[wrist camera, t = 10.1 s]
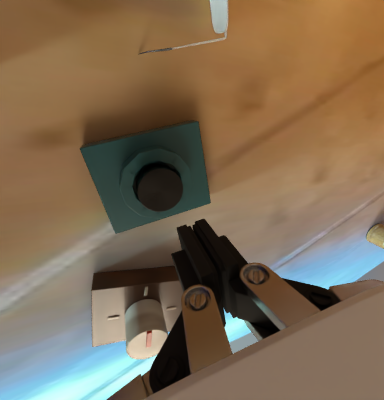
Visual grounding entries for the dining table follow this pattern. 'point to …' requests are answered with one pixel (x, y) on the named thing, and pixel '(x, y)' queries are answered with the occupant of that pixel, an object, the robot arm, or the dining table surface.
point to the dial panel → (131, 299)
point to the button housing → (141, 158)
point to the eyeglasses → (218, 20)
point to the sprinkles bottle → (376, 235)
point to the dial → (145, 329)
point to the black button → (159, 187)
